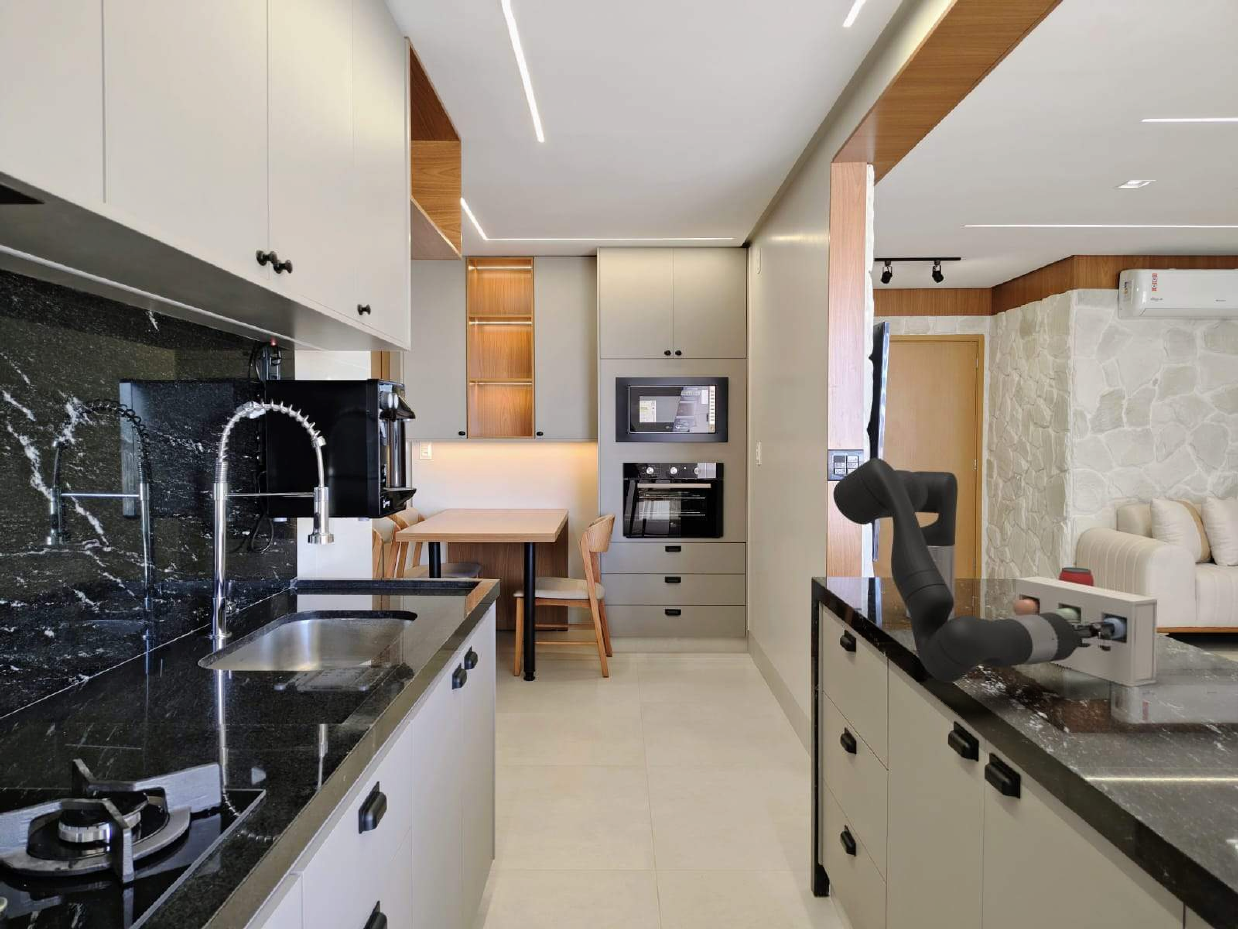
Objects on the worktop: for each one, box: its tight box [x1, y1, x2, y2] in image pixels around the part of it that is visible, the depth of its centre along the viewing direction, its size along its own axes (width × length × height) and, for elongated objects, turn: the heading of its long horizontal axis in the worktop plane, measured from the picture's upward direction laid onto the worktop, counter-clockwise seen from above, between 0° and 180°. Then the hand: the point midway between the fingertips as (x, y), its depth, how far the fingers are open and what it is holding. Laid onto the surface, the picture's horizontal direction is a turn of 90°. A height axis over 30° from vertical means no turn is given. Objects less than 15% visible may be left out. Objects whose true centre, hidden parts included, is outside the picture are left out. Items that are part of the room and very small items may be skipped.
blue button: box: [1102, 617, 1127, 638], centre depth 124 cm, size 3×4×3 cm
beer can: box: [1058, 566, 1095, 587], centre depth 164 cm, size 7×7×12 cm
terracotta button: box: [1012, 599, 1040, 616], centre depth 139 cm, size 3×4×3 cm
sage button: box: [1053, 608, 1081, 622], centre depth 131 cm, size 3×4×3 cm
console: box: [1014, 575, 1158, 688], centre depth 133 cm, size 22×6×14 cm, turn 22°
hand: (1109, 628), depth 124 cm, fingers closed
